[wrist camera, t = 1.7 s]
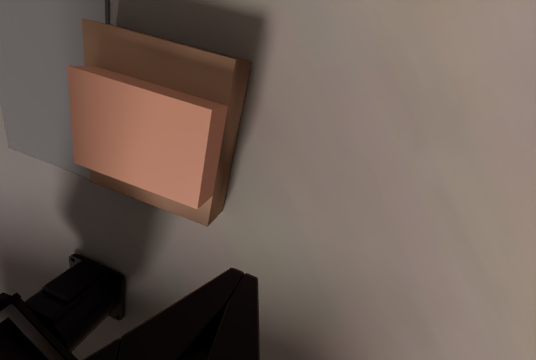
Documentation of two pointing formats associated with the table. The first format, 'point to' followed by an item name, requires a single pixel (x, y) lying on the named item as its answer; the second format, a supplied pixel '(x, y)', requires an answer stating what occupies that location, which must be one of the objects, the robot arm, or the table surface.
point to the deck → (176, 78)
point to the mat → (42, 74)
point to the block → (145, 134)
